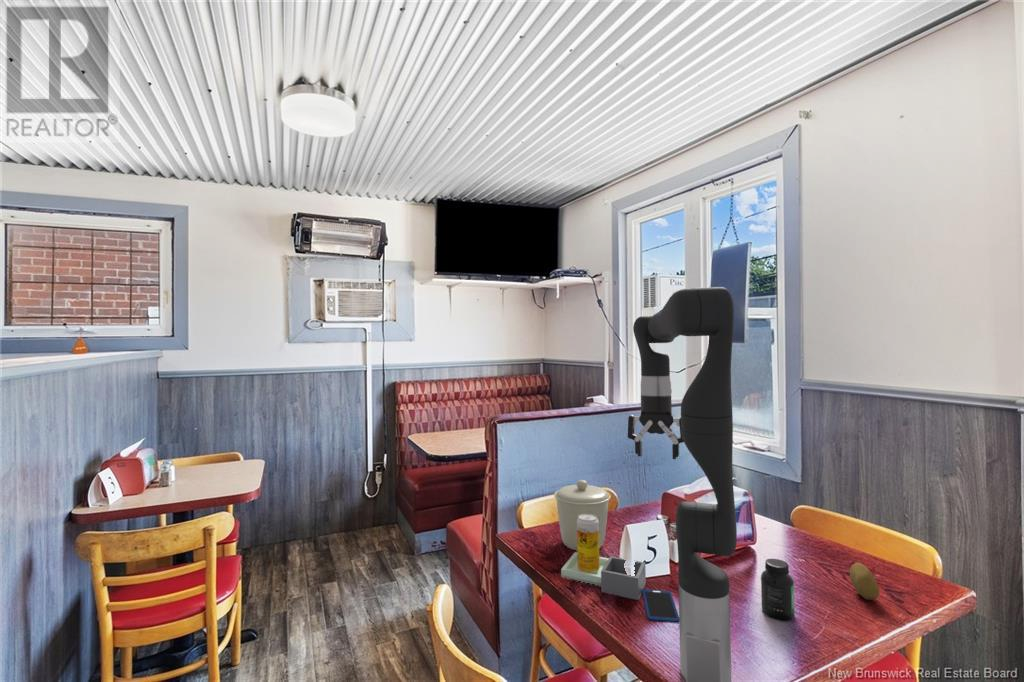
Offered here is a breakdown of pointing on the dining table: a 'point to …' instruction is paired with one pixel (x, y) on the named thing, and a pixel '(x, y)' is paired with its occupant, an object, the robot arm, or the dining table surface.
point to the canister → (581, 510)
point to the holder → (623, 579)
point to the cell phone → (660, 606)
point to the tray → (574, 572)
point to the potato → (864, 581)
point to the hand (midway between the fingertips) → (657, 457)
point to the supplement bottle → (777, 590)
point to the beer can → (588, 543)
